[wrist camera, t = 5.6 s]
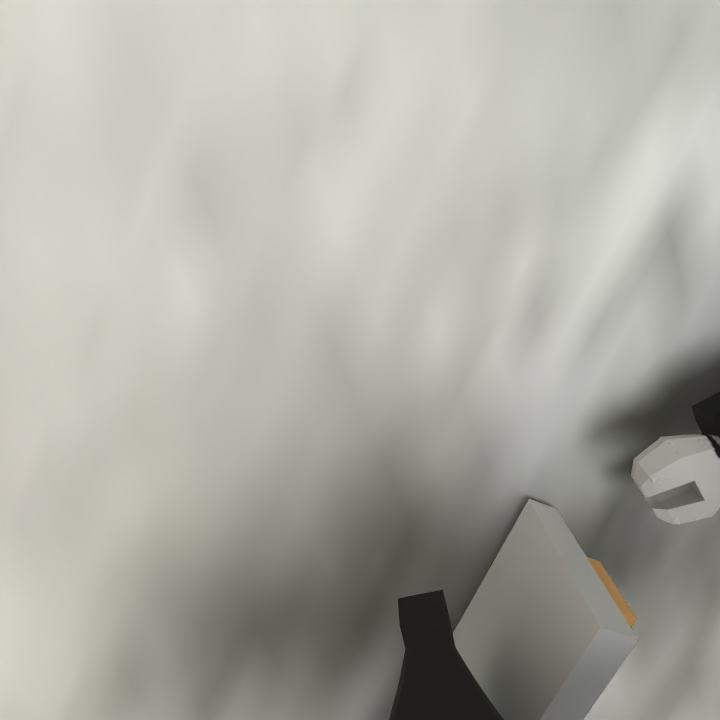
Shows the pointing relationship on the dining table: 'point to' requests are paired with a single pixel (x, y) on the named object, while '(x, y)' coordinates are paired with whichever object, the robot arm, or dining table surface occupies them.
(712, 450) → the robot toy
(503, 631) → the door
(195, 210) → the dining table surface
